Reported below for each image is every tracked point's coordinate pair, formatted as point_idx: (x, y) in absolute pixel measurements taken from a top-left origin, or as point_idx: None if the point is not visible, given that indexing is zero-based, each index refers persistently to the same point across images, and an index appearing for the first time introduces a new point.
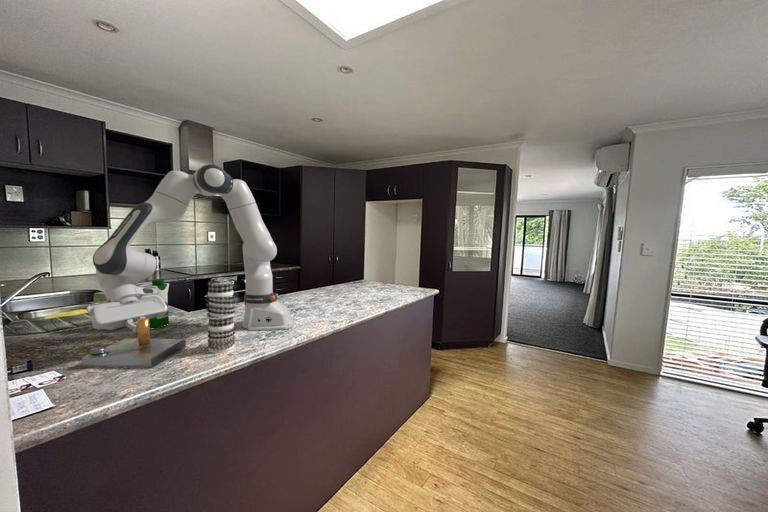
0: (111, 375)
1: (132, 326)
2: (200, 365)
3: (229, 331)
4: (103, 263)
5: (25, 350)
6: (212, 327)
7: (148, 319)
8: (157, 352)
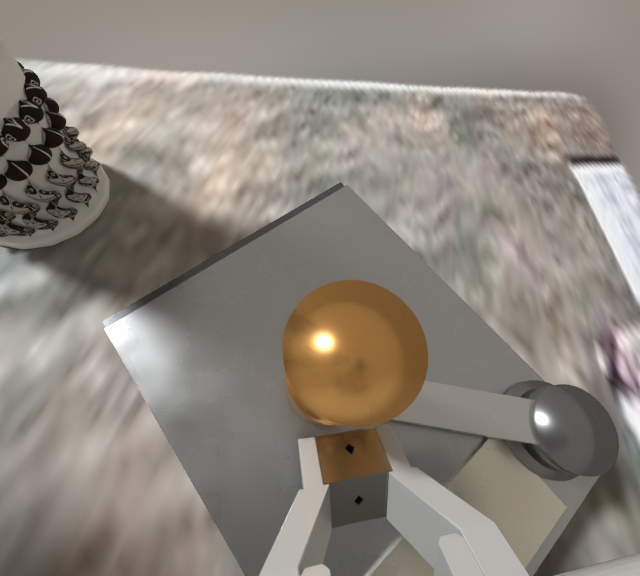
0: (458, 250)
1: (424, 481)
2: (219, 118)
3: None
4: None
5: None
6: (3, 52)
7: (305, 298)
8: (305, 226)
